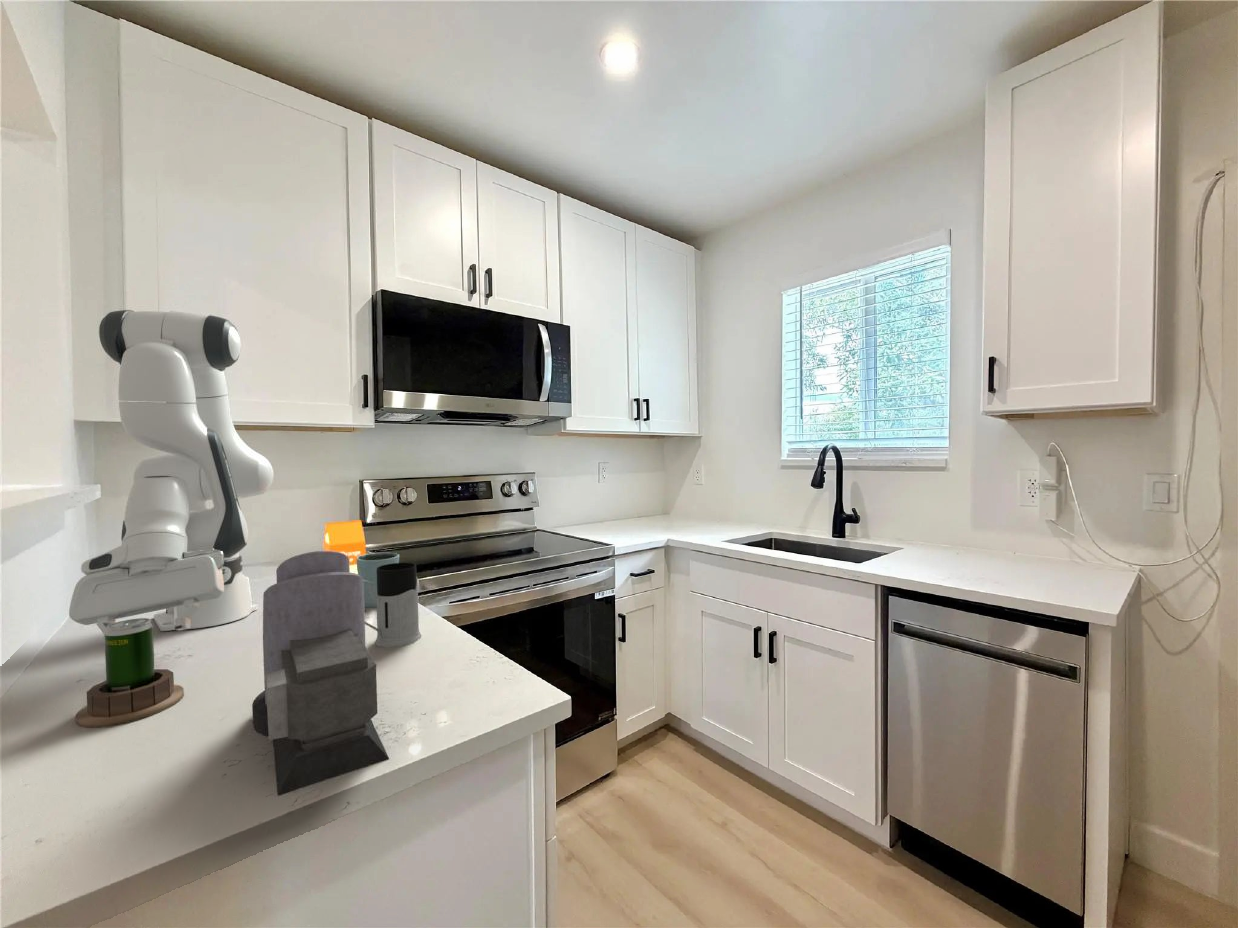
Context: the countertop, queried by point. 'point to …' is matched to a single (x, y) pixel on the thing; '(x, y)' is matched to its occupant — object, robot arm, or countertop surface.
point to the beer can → (129, 655)
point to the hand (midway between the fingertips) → (147, 636)
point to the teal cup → (373, 572)
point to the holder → (396, 605)
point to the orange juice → (346, 540)
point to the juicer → (317, 673)
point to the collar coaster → (131, 716)
